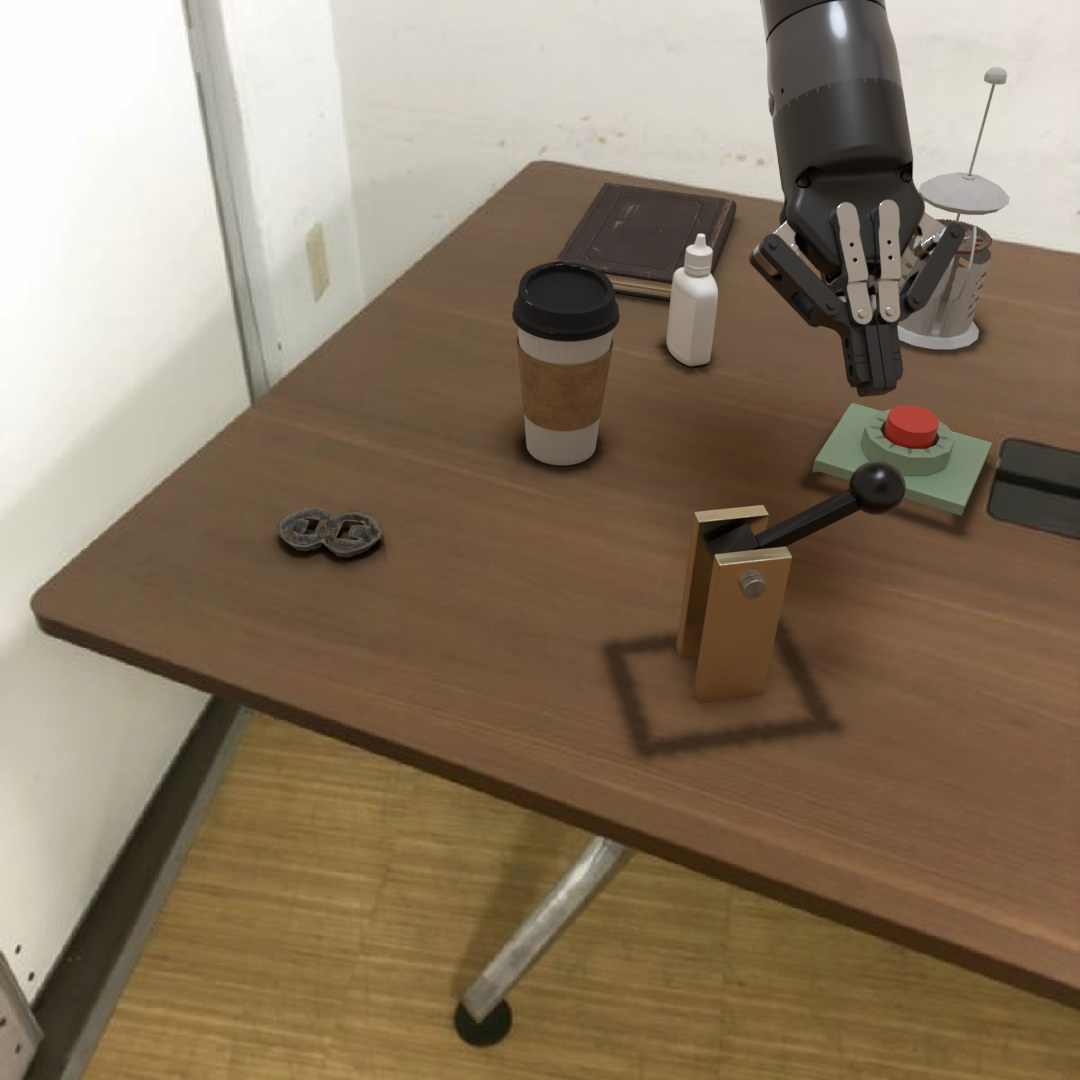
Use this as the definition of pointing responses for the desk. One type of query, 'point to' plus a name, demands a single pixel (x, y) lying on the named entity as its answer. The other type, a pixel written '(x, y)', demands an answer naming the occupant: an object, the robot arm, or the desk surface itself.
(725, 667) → the wooden lever mount
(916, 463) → the control block
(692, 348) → the eye dropper bottle
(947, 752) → the desk surface
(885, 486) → the black lever handle
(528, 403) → the coffee cup
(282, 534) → the corroded twin loop
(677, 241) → the hardcover book
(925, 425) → the button
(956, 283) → the french press
